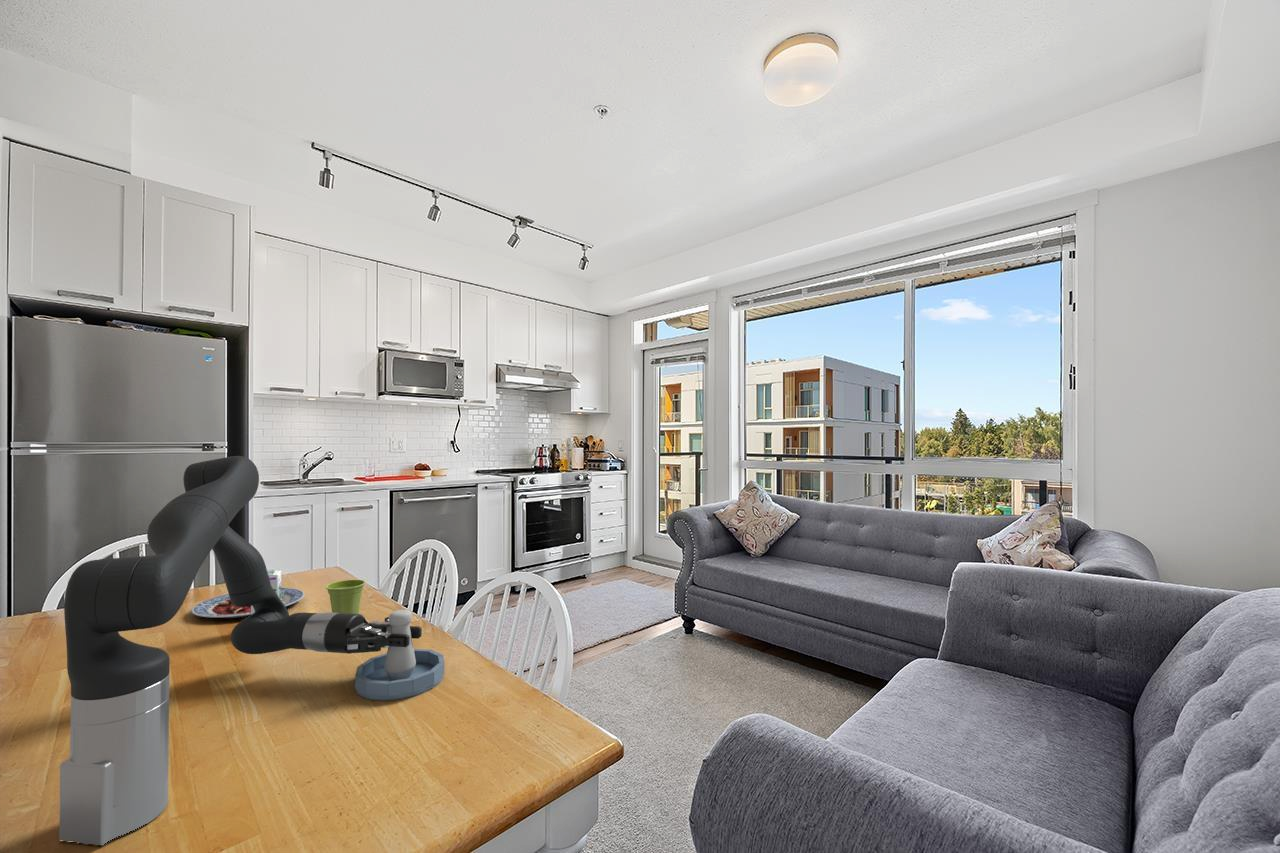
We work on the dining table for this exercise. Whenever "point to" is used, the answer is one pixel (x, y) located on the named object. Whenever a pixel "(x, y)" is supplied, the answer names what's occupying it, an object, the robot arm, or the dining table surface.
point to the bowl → (424, 677)
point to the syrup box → (273, 583)
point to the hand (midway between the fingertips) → (414, 636)
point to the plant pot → (345, 596)
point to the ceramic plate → (226, 609)
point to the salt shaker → (400, 648)
